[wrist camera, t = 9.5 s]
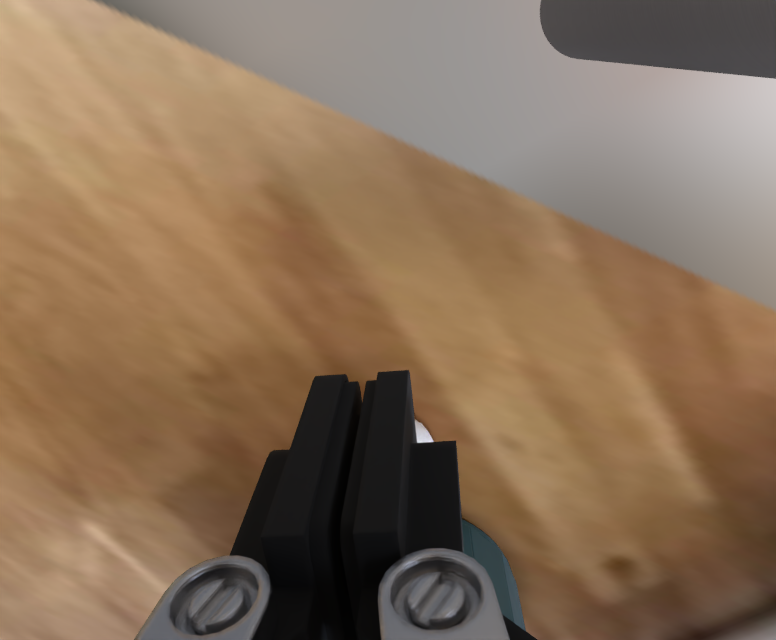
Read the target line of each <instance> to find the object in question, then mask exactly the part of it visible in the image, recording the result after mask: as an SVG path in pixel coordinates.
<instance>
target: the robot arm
mask: <svg viewBox="0 0 776 640" xmlns="http://www.w3.org/2000/svg"><path fill="white" fill-rule="evenodd" d="M134 640H537V639H536V638H534V637H533V636H531V635H530V634H529V633H527V632H526V631H525V630H523V629H522V628H521V627H519V626H518V625H516V624H515V623H514V622H512V621H511V620H510V619H508V618H507V617H505V616H504V615H503V614H502V612H501V609H500V606H499V602H498V599H497V596H496V593H495V589H494V586H493V583H492V581H491V579H490V577H489V575H488V573H487V571H486V569H485V568H484V567H483V566H482V565H480V564H479V563H478V562H477V561H476V560H475V559H474V558H472V557H470V556H468V555H466V554H464V547H463V531H462V516H461V502H460V488H459V474H458V461H457V448H456V441H442V442H423V443H417V436H416V427H415V418H414V408H413V399H412V389H411V380H410V373H409V370H404V371H389V372H378V375H377V380H373V381H367V382H366V386H365V392H364V397H363V403H362V398H361V391H360V386H359V383H358V381H357V382H349V381H348V377H347V375H346V374H342V375H327V376H315V378H314V380H313V382H312V385H311V388H310V391H309V394H308V397H307V400H306V403H305V406H304V409H303V412H302V415H301V418H300V421H299V424H298V427H297V430H296V433H295V436H294V439H293V442H292V445H291V448H290V450H273V451H272V452H270V454H269V455H268V457H267V460H266V462H265V465H264V467H263V470H262V473H261V475H260V478H259V480H258V483H257V486H256V488H255V491H254V493H253V496H252V499H251V501H250V504H249V506H248V509H247V512H246V514H245V517H244V519H243V522H242V525H241V527H240V530H239V532H238V535H237V538H236V540H235V543H234V545H233V548H232V551H231V553H230V556H221V557H217V558H213V559H209V560H206V561H204V562H202V563H200V564H198V565H196V566H194V567H192V568H190V569H188V570H187V571H186V572H184V573H183V574H182V575H181V576H179V577H178V578H177V579H175V581H174V582H173V583H172V584H171V585H170V587H169V588H168V589H167V590H166V591H165V593H164V594H163V596H162V597H161V599H160V600H159V602H158V603H157V605H156V606H155V608H154V610H153V611H152V613H151V614H150V616H149V617H148V619H147V620H146V622H145V623H144V625H143V626H142V628H141V630H140V631H139V633H138V634H137V636H136V637H135V639H134Z"/></svg>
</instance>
